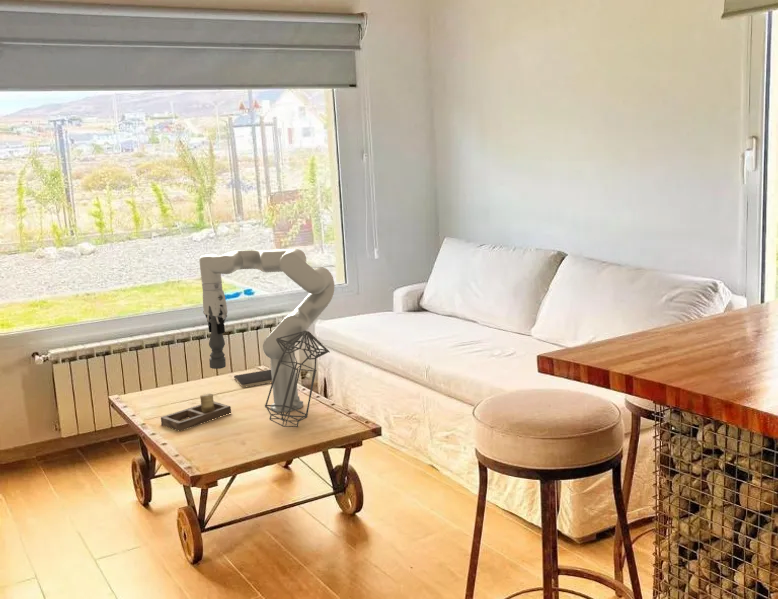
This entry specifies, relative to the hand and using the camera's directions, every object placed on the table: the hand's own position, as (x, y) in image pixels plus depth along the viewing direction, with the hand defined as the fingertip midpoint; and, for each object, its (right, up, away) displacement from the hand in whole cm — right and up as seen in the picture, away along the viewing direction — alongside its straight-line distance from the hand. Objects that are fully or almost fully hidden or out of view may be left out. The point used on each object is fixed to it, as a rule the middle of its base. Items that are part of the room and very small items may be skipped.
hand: (217, 332), depth 337 cm
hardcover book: (+12, -23, +44) cm, 52 cm away
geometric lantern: (+27, -32, -21) cm, 47 cm away
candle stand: (-7, -33, -4) cm, 34 cm away
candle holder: (0, -14, +4) cm, 14 cm away
